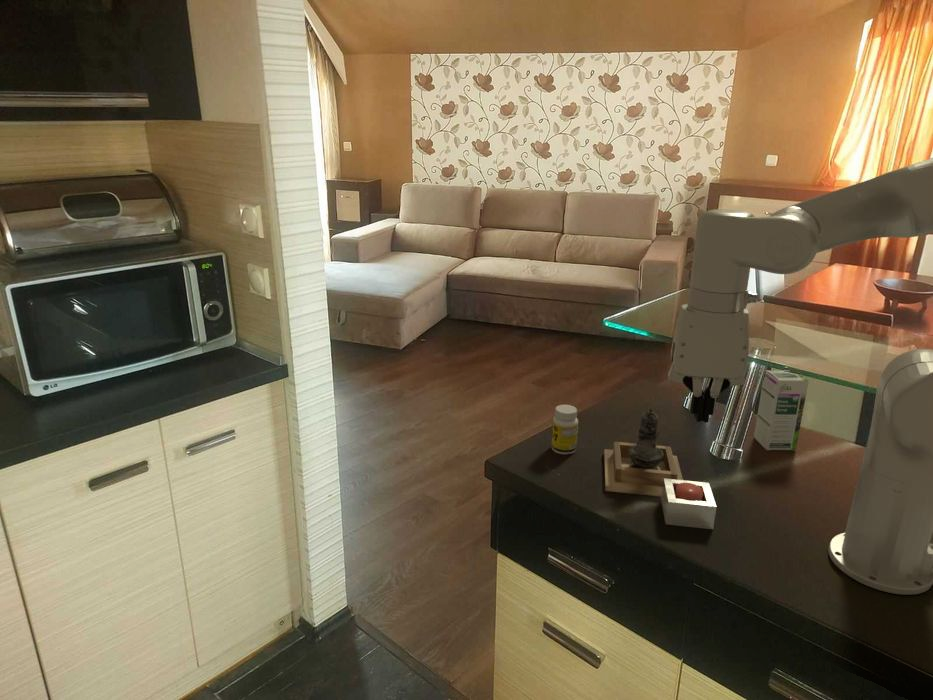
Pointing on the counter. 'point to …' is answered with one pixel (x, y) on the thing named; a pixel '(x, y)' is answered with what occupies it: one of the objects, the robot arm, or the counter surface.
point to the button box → (688, 506)
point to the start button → (688, 492)
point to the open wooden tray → (638, 471)
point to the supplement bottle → (564, 429)
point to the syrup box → (780, 410)
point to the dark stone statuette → (646, 444)
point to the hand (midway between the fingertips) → (700, 418)
